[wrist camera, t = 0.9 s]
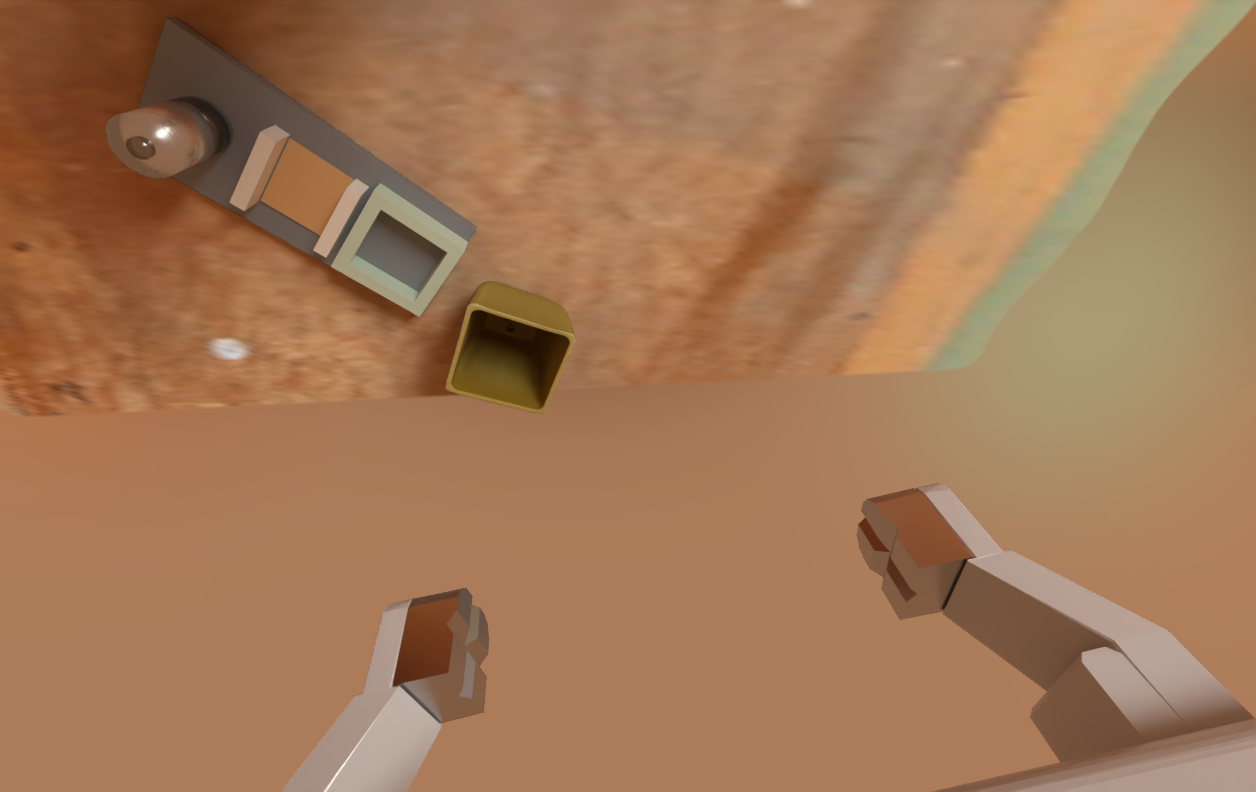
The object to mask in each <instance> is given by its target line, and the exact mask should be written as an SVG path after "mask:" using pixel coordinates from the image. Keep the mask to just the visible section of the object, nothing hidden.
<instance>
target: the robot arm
mask: <svg viewBox="0 0 1256 792" xmlns="http://www.w3.org/2000/svg"><path fill="white" fill-rule="evenodd" d="M861 511H862V513H863V514H864V516H865V518H864V519H863V520H862V521H861V522H860V523H859V524H858V531H857V538H858V543H859V548H860V550H861V553H862V555H863V557H864V559H865V561H866V563H867V564H868V566H869V568H870V569H871V570H873V571H874V572H876V573H878V574H879V575H881V576H882V577H883V582H882V590H883V592H884V594H885V595H886V597H887V599H888V600H889V602H890V604H891V605H892V607H893V609H894V611H895V612H896V614H897V615H898V617H899V619H900V620H901V619H906V618H912V617H916V616H921V615H927V614H932V613H937V612H942V611H944V612H943V614H944V615H945V616H946V617H948V618H949V619H950V620H952V621H953V622H954V623H956V624H957V625H958V626H960V627H961V628H962V629H964V630H965V631H966V632H968V633H969V634H971V635H972V636H973V637H974V638H976V639H977V640H979V641H980V642H981V643H983V644H984V645H985V646H987V647H988V648H989V649H991V650H992V651H993V652H995V653H996V654H997V655H999V656H1000V657H1002V658H1003V659H1004V660H1006V661H1007V662H1008V663H1010V664H1011V665H1012V666H1014V667H1015V668H1016V669H1018V670H1019V671H1020V672H1022V673H1023V674H1024V675H1026V676H1027V677H1028V678H1030V679H1031V680H1033V681H1034V682H1035V683H1037V684H1038V685H1039V686H1041V687H1042V688H1043V689H1045V690H1046V691H1047V692H1046V693H1045V695H1044V696H1043V697H1042V698H1041V699H1040V700H1039V701H1038V703H1037V704H1036V705H1035V706H1034V707H1033V708H1032V712H1031V716H1030V718H1031V719H1032V721H1033V722H1034V724H1035V725H1036V727H1037V728H1038V730H1039V731H1040V732H1041V734H1042V735H1043V737H1044V739H1045V740H1046V742H1047V743H1048V745H1049V746H1050V748H1051V749H1052V751H1053V752H1054V753H1055V755H1056V756H1057V758H1058V759H1059V761H1060V763H1055V764H1051V765H1047V766H1042V767H1038V768H1034V769H1029V770H1025V771H1021V772H1016V773H1012V774H1007V775H1003V776H998V777H994V778H990V779H985V780H981V781H976V782H972V783H968V784H963V785H959V786H955V787H950V788H946V789H942V790H937V791H933V792H1256V718H1254V717H1253V716H1252V715H1251V714H1250V713H1249V712H1248V711H1247V710H1246V709H1245V708H1244V707H1243V706H1242V705H1241V704H1240V703H1239V702H1238V701H1237V700H1236V699H1235V698H1234V697H1233V696H1232V695H1231V694H1230V693H1229V692H1228V691H1227V690H1226V689H1225V688H1224V687H1223V686H1222V685H1221V684H1220V683H1219V682H1218V681H1217V680H1216V679H1215V678H1214V677H1213V676H1212V675H1211V674H1210V673H1209V672H1208V671H1207V670H1206V669H1205V668H1204V667H1203V666H1202V665H1201V664H1200V663H1199V662H1198V661H1197V660H1196V659H1195V658H1194V657H1193V656H1192V655H1191V654H1190V653H1189V652H1188V651H1187V650H1186V649H1185V648H1184V647H1183V646H1182V645H1181V644H1180V643H1179V641H1178V640H1177V639H1176V638H1175V637H1173V636H1172V634H1171V633H1169V631H1167V630H1165V629H1163V628H1161V627H1159V626H1157V625H1155V624H1153V623H1151V622H1150V621H1148V620H1146V619H1144V618H1142V617H1140V616H1138V615H1136V614H1134V613H1132V612H1130V611H1128V610H1126V609H1124V608H1122V607H1120V606H1118V605H1117V604H1115V603H1113V602H1111V601H1109V600H1107V599H1105V598H1103V597H1101V596H1099V595H1097V594H1095V593H1093V592H1091V591H1089V590H1087V589H1085V588H1083V587H1081V586H1079V585H1078V584H1076V583H1074V582H1072V581H1070V580H1068V579H1066V578H1064V577H1062V576H1060V575H1058V574H1056V573H1054V572H1052V571H1050V570H1048V569H1046V568H1044V567H1043V566H1040V565H1039V564H1037V563H1035V562H1033V561H1031V560H1029V559H1027V558H1025V557H1023V556H1021V555H1019V554H1017V553H1015V552H1013V551H1011V550H1009V551H1002V550H1001V549H1000V548H999V546H998V545H997V544H996V543H995V542H994V541H993V539H992V538H991V537H990V536H989V535H988V533H987V532H986V531H985V530H984V529H983V528H982V527H981V525H980V524H979V523H978V522H977V521H976V520H975V518H974V517H973V516H972V515H971V514H970V512H969V511H968V510H967V509H966V508H965V506H964V505H963V504H962V503H961V502H960V501H959V499H958V498H956V496H955V495H954V494H953V493H952V491H951V490H950V489H949V488H948V487H947V486H945V485H943V484H942V483H940V484H939V483H937V484H932V485H928V486H923V487H919V488H915V489H913V488H912V489H908V490H903V491H899V492H895V493H892V494H887V495H883V496H878V497H874V498H870V499H867V500H866V501H864V502H863V505H862V509H861ZM488 647H489V634H488V625H487V621H486V618H485V615H484V613H483V611H482V610H481V608H480V607H477V606H475V605H472V595H471V594H470V593H469V591H468V590H467V588H462V589H458V590H453V591H448V592H444V593H439V594H434V595H430V596H425V597H420V598H413V599H409V600H405V601H401V602H396V603H391V604H388V605H387V607H386V609H385V610H384V612H383V614H382V617H381V621H380V625H379V629H378V633H377V637H376V641H375V645H374V649H373V653H372V657H371V661H370V665H369V669H368V673H367V677H366V681H365V685H364V690H363V693H362V694H358V695H355V696H354V697H353V698H352V700H351V701H350V702H349V703H348V705H347V706H346V707H345V709H344V710H343V711H342V713H341V714H340V715H339V717H338V718H337V719H336V721H335V722H334V723H333V724H332V726H331V727H330V728H329V730H328V731H327V732H326V734H325V735H324V736H323V738H322V739H321V740H320V741H319V743H318V744H317V745H316V747H315V748H314V749H313V750H312V752H311V753H310V754H309V756H308V757H307V758H306V760H305V761H304V762H303V764H302V765H301V766H300V767H299V769H298V770H297V771H296V773H295V774H294V775H293V777H292V778H291V779H290V781H289V782H288V783H287V784H286V786H285V787H284V789H283V790H282V791H281V792H407V790H408V788H409V786H410V784H411V782H412V781H413V779H414V777H415V775H416V773H417V771H418V770H419V768H420V766H421V764H422V762H423V760H424V758H425V756H426V755H427V753H428V751H429V749H430V747H431V745H432V743H433V741H434V740H435V738H436V736H437V734H438V732H439V730H440V728H441V724H440V723H444V722H447V721H452V720H456V719H460V718H463V717H467V716H471V715H476V714H479V713H483V712H484V704H485V690H486V675H485V673H484V672H483V671H482V669H481V668H480V665H481V664H482V662H483V660H484V659H485V657H486V656H487V654H488Z"/></svg>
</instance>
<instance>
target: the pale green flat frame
mask: <svg viewBox="0 0 1256 792" xmlns="http://www.w3.org/2000/svg"><path fill="white" fill-rule="evenodd" d="M381 210H382V211H384V212H385V213H387V214H389V215H390V216H392V217H393V218H395V219H396V220H398V221H399V222H401V223H402V224H404V225H406V226H407V227H409V228H410V229H412V230H413V231H415V232H416V233H418V234H419V235H421V236H423V237H424V238H426V239H427V240H429V241H430V242H432V243H433V244H435V245H436V246H438V247H440V248H441V249H443V250H444V251H446V252H445V254H444V255H443V257H442V258H441V259H440V261H439V262H438V264H437V265H436V267H435V268H434V270H433V271H432V273H431V274H430V276H429V277H428V279H427V280H426V282H425V283H424V285H423V286H422V288H421V289H420V291H419V292H417V291H416V290H414V289H412V288H411V287H409V286H407V285H406V284H404V283H402V282H400V281H399V280H397V279H395V278H394V277H392V276H390V275H389V274H387V273H385V272H383V271H382V270H380V269H378V268H377V267H375V266H373V265H372V264H370V263H368V262H366V261H365V260H363V259H361V258H360V257H358V256H356V253H357V252H358V250H359V248H360V246H361V245H362V243H363V241H364V240H365V238H366V236H367V234H368V233H369V231H370V229H371V228H372V226H373V224H374V222H375V221H376V219H377V217H378V216H379V214H380V212H381ZM467 243H468V242H467V241H466V240H464V239H463V238H461V237H460V236H458V235H457V234H455V233H454V232H452V231H451V230H449V229H448V228H447V227H445V226H444V225H442V224H441V223H439V222H438V221H436V220H435V219H433V218H432V217H430V216H429V215H427V214H426V213H424V212H423V211H421V210H420V209H418V208H417V207H415V206H414V205H412V204H411V203H409V202H408V201H406V200H405V199H403V198H402V197H400V196H399V195H397V194H396V193H394V192H393V191H391V190H390V189H388V188H387V187H385V186H384V185H383V184H381V183H380V184H379V185H378V186H377V187H376V188H375V189H374V191H373V193H372V194H371V196H370V198H369V200H368V201H367V203H366V205H365V207H364V208H363V210H362V212H361V214H360V215H359V217H358V219H357V221H356V223H355V224H354V226H353V228H352V230H351V231H350V233H349V235H348V237H347V238H346V240H345V242H344V244H343V246H342V247H341V249H340V251H339V253H338V254H337V256H336V258H335V260H334V261H333V263H332V265H331V267H332V268H334V269H335V270H337V271H339V272H341V273H343V274H344V275H346V276H348V277H350V278H351V279H353V280H355V281H357V282H358V283H360V284H362V285H364V286H366V287H367V288H369V289H371V290H373V291H374V292H376V293H378V294H380V295H382V296H383V297H385V298H387V299H389V300H390V301H392V302H394V303H396V304H397V305H399V306H401V307H403V308H405V309H406V310H408V311H410V312H412V313H413V314H415V315H417V316H419V317H420V316H421V314H422V313H423V311H424V310H425V308H426V307H427V305H428V304H429V302H430V301H431V300H432V298H433V297H434V295H435V294H436V292H437V291H438V289H439V288H440V287H441V285H442V284H443V282H444V281H445V279H446V278H447V276H448V275H449V274H450V272H451V271H452V269H453V268H454V266H455V265H456V263H457V262H458V260H459V259H460V258H461V256H462V255H463V253H464V252H465V250H466V246H467Z"/></svg>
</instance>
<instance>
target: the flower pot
mask: <svg viewBox="0 0 1256 792" xmlns="http://www.w3.org/2000/svg"><path fill="white" fill-rule="evenodd" d="M508 326H513V330H508V328H507V327H508ZM575 339H576V338H575V334H574V331H573V328H572V325H571V322H570V320H569V317H568V314H567V312H566V311H565V309H564V308H563V307H562V306H560V305H559V304H558V303H556V302H554V301H552V300H549V299H546V298H543V297H540V296H537V295H534V294H531V293H528V292H525V291H522V290H519V289H516V288H513V287H510V286H507V285H504V284H501V283H498V282H494V281H487V282H484V283H482V284H481V285H480V286H479V287H478V288H477V290H476V292H475V293H474V295H473V297H472V299H471V301H470V303H469V304H468V306H467V308H466V312H465V316H464V320H463V324H462V327H461V331H460V335H459V339H458V342H457V345H456V349H455V352H454V356H453V360H452V363H451V366H450V370H449V374H448V377H447V380H446V384H445V389H446V390H448V391H450V392H453V393H456V394H460V395H463V396H467V397H471V398H476V399H480V400H484V401H487V402H491V403H496V404H501V405H504V406H508V407H512V408H516V409H520V410H524V411H528V412H532V413H539V414H543V413H545V411H546V410H547V407H548V405H549V403H550V400H551V397H552V395H553V392H554V390H555V388H556V385H557V383H558V381H559V378H560V376H561V373H562V371H563V369H564V366H565V364H566V362H567V360H568V358H569V355H570V353H571V351H572V348H573V346H574V343H575Z"/></svg>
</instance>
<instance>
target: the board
mask: <svg viewBox="0 0 1256 792" xmlns="http://www.w3.org/2000/svg"><path fill="white" fill-rule="evenodd" d="M185 96H198V97H201V98H204V99H206V100H208V101H210V102H212V103H213V104H215V105H216V106H217V107H218V108H220V109H221V110H222V111H223V112H224V114H225V115H226V116H227V118H228V119H229V121H230V123H231V125H232V128H233V134H234V138H233V142H232V144H231V146H230V147H229V148H228V149H227V150H225V151H224V152H222V153H220V154H218V155H215V156H213V157H211V158H209V159H207V160H204V161H202V162H200V163H198V164H195V165H193V166H191V167H189V168H187V169H185V170H183V171H181V172H178V173H176V174H174V175H172V176H170V177H172V178H174V179H175V180H177V181H179V182H181V183H183V184H184V185H186V186H188V187H190V188H191V189H193V190H195V191H197V192H198V193H200V194H202V195H204V196H206V197H207V198H209V199H211V200H213V201H214V202H216V203H218V204H220V205H222V206H223V207H225V208H227V209H229V210H230V211H232V212H234V213H236V214H237V215H239V216H241V217H243V218H245V219H246V220H248V221H250V222H252V223H253V224H255V225H257V226H259V227H261V228H262V229H264V230H266V231H268V232H269V233H271V234H273V235H275V236H276V237H278V238H280V239H282V240H284V241H285V242H287V243H289V244H291V245H292V246H294V247H296V248H298V249H300V250H301V251H303V252H305V253H307V254H308V255H310V256H312V257H314V258H315V259H317V260H319V261H321V262H323V263H324V264H326V265H328V266H330V267H331V265H332V263H333V261H334V260H335V258H336V256H337V254H338V253H339V251H340V249H341V247H342V246H343V244H344V242H345V240H346V238H347V237H348V235H349V233H350V231H351V230H352V228H353V226H354V224H355V223H356V221H357V219H358V217H359V215H360V214H361V212H362V210H363V208H364V207H365V205H366V203H367V201H368V200H369V198H370V196H371V194H372V193H373V191H374V189H375V188H376V187H377V186H378V185H379V184H380V183H381V184H383V185H384V186H385V187H387V188H388V189H390V190H391V191H393V192H394V193H396V194H397V195H399V196H400V197H402V198H403V199H405V200H406V201H408V202H409V203H411V204H412V205H414V206H415V207H417V208H418V209H420V210H421V211H423V212H424V213H426V214H427V215H429V216H430V217H432V218H433V219H435V220H436V221H438V222H439V223H441V224H442V225H444V226H445V227H447V228H448V229H449V230H451V231H452V232H454V233H455V234H457V235H458V236H460V237H461V238H463V239H464V240H466V241H467V242H468V241H469V239H470V238H471V236H472V235H473V234H474V232H475V230H476V226H475V225H473V224H472V223H470V222H469V221H467V220H466V219H465V218H463V217H462V216H460V215H459V214H457V213H456V212H455V211H453V210H452V209H450V208H449V207H447V206H446V205H444V204H443V203H442V202H440V201H439V200H437V199H436V198H434V197H433V196H431V195H430V194H429V193H427V192H426V191H424V190H423V189H421V188H420V187H418V186H417V185H416V184H414V183H413V182H411V181H410V180H408V179H407V178H406V177H404V176H403V175H401V174H400V173H398V172H397V171H395V170H394V169H393V168H391V167H390V166H388V165H387V164H385V163H384V162H382V161H381V160H380V159H378V158H377V157H375V156H374V155H372V154H371V153H369V152H368V151H367V150H365V149H364V148H362V147H361V146H359V145H358V144H357V143H355V142H354V141H352V140H351V139H349V138H348V137H346V136H345V135H344V134H342V133H341V132H339V131H338V130H336V129H335V128H333V127H332V126H331V125H329V124H328V123H326V122H325V121H323V120H322V119H320V118H319V117H318V116H316V115H315V114H313V113H312V112H310V111H309V110H307V109H306V108H305V107H303V106H302V105H300V104H299V103H297V102H296V101H295V100H293V99H292V98H290V97H289V96H287V95H286V94H284V93H283V92H282V91H280V90H279V89H277V88H276V87H274V86H273V85H271V84H270V83H269V82H267V81H266V80H264V79H263V78H261V77H260V76H258V75H257V74H256V73H254V72H253V71H251V70H250V69H248V68H247V67H246V66H244V65H243V64H241V63H240V62H238V61H237V60H235V59H234V58H233V57H231V56H230V55H228V54H227V53H225V52H224V51H222V50H221V49H220V48H218V47H217V46H215V45H214V44H212V43H211V42H209V41H208V40H207V39H205V38H204V37H202V36H201V35H199V34H198V33H197V32H195V31H194V30H192V29H191V28H189V27H188V26H186V25H185V24H184V23H182V22H181V21H179V20H178V19H176V18H166V21H165V24H164V27H163V30H162V33H161V36H160V39H159V43H158V46H157V49H156V52H155V55H154V58H153V61H152V64H151V67H150V71H149V74H148V77H147V80H146V83H145V86H144V89H143V92H142V96H141V99H140V102H139V105H138V108H137V109H139V108H143V107H147V106H151V105H154V104H158V103H161V102H164V101H168V100H172V99H176V98H179V97H185ZM274 125H276V126H278V127H279V128H281V129H282V130H284V131H285V132H287V133H288V134H290V136H289V138H291V139H293V140H294V141H296V142H297V143H299V144H300V145H302V146H303V147H305V148H306V149H308V150H309V151H311V152H312V153H314V154H315V155H317V156H318V157H320V158H321V159H323V160H325V161H326V162H328V163H329V164H331V165H332V166H334V167H335V168H337V169H338V170H340V171H341V172H343V173H344V174H346V175H347V176H349V177H350V178H352V179H353V181H354V180H355V179H358V180H359V181H361V182H362V183H364V184H365V185H367V186H368V187H369V188H368V190H367V192H366V194H365V195H364V197H363V199H362V201H361V202H360V204H359V206H358V208H357V210H356V211H355V213H354V215H353V217H352V219H351V220H350V222H349V224H348V226H347V227H346V229H345V231H344V233H343V235H342V236H341V238H340V240H339V242H338V244H337V245H336V247H335V248H334V249H333V250H332V252H331V253H330V254H329V255H328V256H327V258H326V257H324V256H322V255H320V254H319V253H317V252H315V251H313V249H314V247H315V246H316V244H317V242H318V240H319V238H320V235H318V234H317V233H315V232H313V231H312V230H310V229H308V228H306V227H305V226H303V225H301V224H300V223H298V222H296V221H295V220H293V219H291V218H289V217H288V216H286V215H284V214H283V213H281V212H279V211H278V210H276V209H274V208H272V207H271V206H269V205H267V204H266V203H264V202H262V201H260V200H261V198H262V196H263V194H264V192H265V190H266V188H267V185H268V183H269V181H270V179H271V177H272V175H273V173H274V170H275V168H276V166H277V164H278V162H279V160H280V157H281V155H282V153H283V151H284V149H285V147H286V145H287V142H288V140H289V138H288V140H287V142H286V144H285V146H284V149H283V151H282V153H281V155H280V157H279V159H278V162H277V164H276V166H275V168H274V170H273V172H272V174H271V177H270V179H269V181H268V183H267V185H266V187H265V190H264V192H263V194H262V196H261V198H260V200H259V201H258V202H257V203H256V204H254V205H253V206H251V207H250V208H249V209H247V210H246V211H243V210H241V209H240V208H238V207H236V206H234V205H233V204H231V203H229V202H230V200H231V197H232V195H233V193H234V191H235V188H236V186H237V184H238V181H239V179H240V177H241V175H242V172H243V170H244V168H245V165H246V163H247V161H248V158H249V156H250V154H251V152H252V149H253V147H254V145H255V142H256V140H257V138H258V136H259V133H260V132H261V131H263V130H265V129H267V128H269V127H272V126H274ZM445 252H446V251H444V250H443V249H441V248H440V247H438V246H436V245H435V244H433V243H432V242H430V241H429V240H427V239H426V238H424V237H423V236H421V235H419V234H418V233H416V232H415V231H413V230H412V229H410V228H409V227H407V226H406V225H404V224H402V223H401V222H399V221H398V220H396V219H395V218H393V217H392V216H390V215H389V214H387V213H385V212H384V211H382V210H381V212H380V214H379V216H378V217H377V219H376V221H375V222H374V224H373V226H372V228H371V229H370V231H369V233H368V234H367V236H366V238H365V240H364V241H363V243H362V245H361V246H360V248H359V250H358V252H357V253H356V256H358V257H360V258H361V259H363V260H365V261H366V262H368V263H370V264H372V265H373V266H375V267H377V268H378V269H380V270H382V271H383V272H385V273H387V274H389V275H390V276H392V277H394V278H395V279H397V280H399V281H400V282H402V283H404V284H406V285H407V286H409V287H411V288H412V289H414V290H416V291H417V292H419V291H420V289H421V288H422V286H423V285H424V283H425V282H426V280H427V279H428V277H429V276H430V274H431V273H432V271H433V270H434V268H435V267H436V265H437V264H438V262H439V261H440V259H441V258H442V257H443V255H444V254H445ZM331 268H332V267H331ZM333 269H334V268H333ZM340 273H341V272H340ZM342 274H343V273H342ZM347 277H348V276H347ZM349 278H350V277H349ZM354 281H355V280H354ZM356 282H357V281H356ZM363 286H364V285H363ZM365 287H366V286H365ZM370 290H371V289H370ZM372 291H373V290H372ZM379 295H380V294H379ZM381 296H382V295H381ZM386 299H387V298H386ZM388 300H389V299H388ZM393 303H394V302H393ZM395 304H396V303H395ZM402 308H403V307H402ZM404 309H405V308H404ZM409 312H410V311H409ZM411 313H412V312H411Z"/></svg>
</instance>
